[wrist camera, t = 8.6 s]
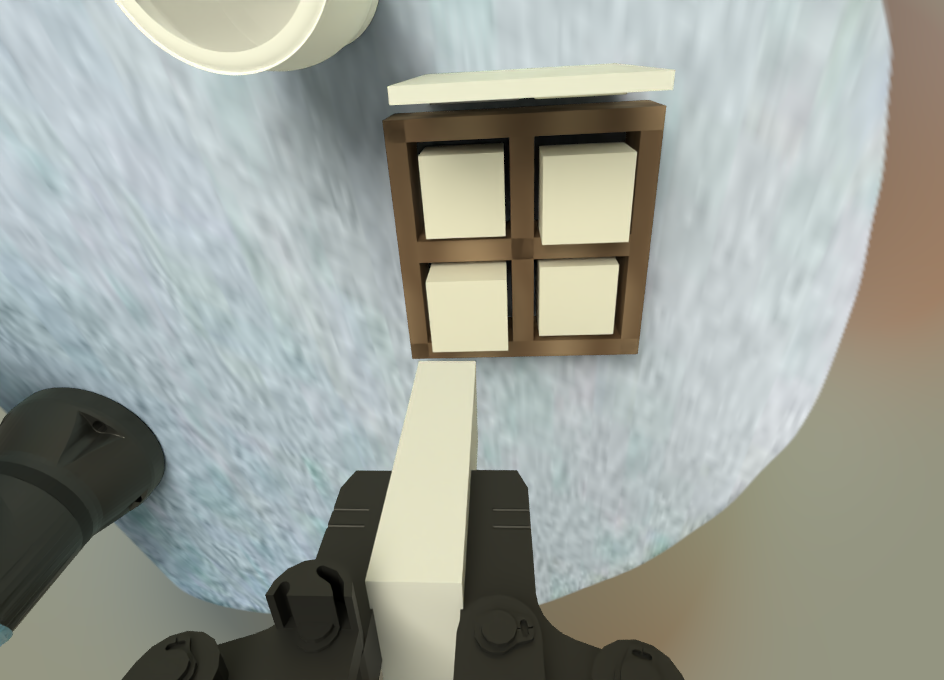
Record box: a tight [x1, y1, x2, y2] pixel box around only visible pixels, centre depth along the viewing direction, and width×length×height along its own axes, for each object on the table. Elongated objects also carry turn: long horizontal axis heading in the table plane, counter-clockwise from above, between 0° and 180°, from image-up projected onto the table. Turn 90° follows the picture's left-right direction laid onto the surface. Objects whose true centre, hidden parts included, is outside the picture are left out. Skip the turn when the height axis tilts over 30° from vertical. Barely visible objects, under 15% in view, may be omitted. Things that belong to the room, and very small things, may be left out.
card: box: [387, 63, 675, 105], centre depth 30 cm, size 13×1×14 cm, turn 93°
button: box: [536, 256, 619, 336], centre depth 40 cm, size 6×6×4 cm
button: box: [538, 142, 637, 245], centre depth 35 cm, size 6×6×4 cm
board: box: [382, 100, 666, 359], centre depth 39 cm, size 18×18×4 cm
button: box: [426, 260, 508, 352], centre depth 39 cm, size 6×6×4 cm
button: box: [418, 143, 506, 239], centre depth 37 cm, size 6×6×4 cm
